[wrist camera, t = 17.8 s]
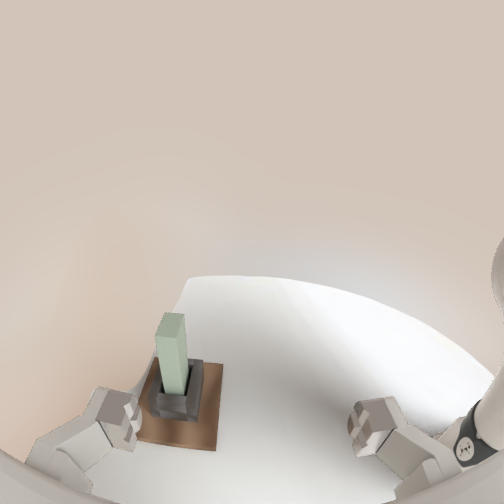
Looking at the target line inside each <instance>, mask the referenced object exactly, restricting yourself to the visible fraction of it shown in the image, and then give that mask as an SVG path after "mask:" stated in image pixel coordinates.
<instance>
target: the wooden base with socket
mask: <svg viewBox="0 0 504 504" xmlns="http://www.w3.org/2000/svg"><path fill="white" fill-rule="evenodd" d="M188 369H189V378H190V383H189V387H188V392H187V396H179V395H172V394H165V390H164V385H163V380H162V375H161V370H160V364H159V358H157V357H155V358H154V361H153V363H152V366H151V369H150V371H149V374H148V377H147V379H146V382H145V385H144V387H143V390H142V393H141V396H140V398H139V401H138V404H137V405H138V406H139V407H140V408H141V411H142V424H141V428H140V430H139V431H137V432H136V433H135V435H136V437H137V440H140V441H145V442H150V443H155V444H161V445H167V446H173V447H180V448H188V449H197V450H207V451H216V444H217V431H218V419H219V407H220V395H221V384H222V373H223V364H217V363H204V362H203V360H197V359H188Z"/></svg>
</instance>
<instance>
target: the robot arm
mask: <svg viewBox="0 0 504 504" xmlns="http://www.w3.org/2000/svg"><path fill="white" fill-rule="evenodd" d="M491 278H492V289H493V293H494V297H495V300H496V301H497V304H498V306H499V308H500V311H501V314H502V318H503V322H504V238H503V240H502V241H501V243H500V244H499V246H498V248H497V251H496V253H495V256H494V260H493V265H492V274H491ZM137 403H138V399H137V396H136V395H133V394H129V393H124V392H120V391H116V390H112V389H108V388H104V387H100V386H99V387H98V388H97V389H96V390H95V392H94V394H93V396H92V398H91V400H90V402H89V404H88V406H87V408H86V410H85V412H84V414H83V416H77V417H76V418H74V419H72V420H71V421H69V422H67V423H65V424H64V425H62V426H60V427H58V428H57V429H55V430H53V431H51V432H49V433H48V434H46V435H44V436H42V437H40V438H39V439H37V440H36V442H35V444H34V446H33V447H32V450H31V452H30V454H29V456H28V457H27V459H26V461H25V464H24V463H22V462H20V461H19V460H17V459H15V458H14V457H12V456H10V455H9V454H7V453H6V452H4V451H2V450H1V449H0V504H119V503H116V502H112V501H109V500H106V499H103V498H100V497H97V496H94V495H92V494H90V492H91V489H92V486H93V484H92V482H91V481H90V480H89V479H88V478H87V476H86V475H85V474H84V472H85V471H87V470H88V469H89V468H90V467H91V466H93V465H94V464H95V463H96V462H97V461H99V460H100V459H101V458H102V457H103V456H105V455H106V454H107V453H108V452H109V451H111V450H112V449H113V447H114V448H118V449H122V450H127V451H131V452H133V451H134V448H135V444H136V441H137V437H136V435H135V433H136V432H137V431H139V430H140V428H141V424H142V411H141V408H140V407H139V406H138V405H137ZM354 409H355V412H353V413H352V414H350V417H349V419H348V432H349V436H351V437H352V438H353V439H355V440H354V442H353V444H352V445H353V449H354V452H355V455H356V457H361V456H367V455H372V454H375V455H376V456H377V457H378V458H379V459H380V460H381V461H382V462H384V463H385V464H386V465H387V466H388V467H389V468H390V469H391V470H392V471H394V472H395V473H396V474H397V475H398V476H399V477H400V478H401V479H403V480H404V481H402V482H401V483H400V484H399V485H398V486H397V487H396V488H395V490H394V491H395V494H396V498H397V499H396V500H393V501H390V502H387V503H383V504H504V355H503V359H502V362H501V365H500V367H499V370H498V372H497V374H496V376H495V378H494V380H493V381H492V383H491V385H490V387H489V388H488V390H487V392H486V393H485V395H484V396H483V398H482V399H481V400H479V401H478V402H477V403H476V404H475V405H474V406H473V407H472V408H471V410H470V411H469V412H468V414H467V415H466V416H465V417H462V418H461V417H459V418H458V419H457V420H456V421H455V422H454V423H453V424H452V425H451V426H450V427H449V428H448V429H447V431H446V432H445V433H441V434H437V435H435V436H434V437H433V438H431V437H430V436H428V435H427V434H425V433H423V432H422V431H420V430H419V429H417V428H416V427H414V426H412V425H408V424H407V422H406V420H405V418H404V415H403V413H402V411H401V410H400V408H399V406H398V404H397V402H396V400H395V398H394V397H393V396H392V397H386V398H378V399H372V400H365V401H358V402H357V403H356V404H355V406H354Z"/></svg>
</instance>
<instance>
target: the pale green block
mask: <svg viewBox="0 0 504 504" xmlns="http://www.w3.org/2000/svg"><path fill="white" fill-rule="evenodd" d="M155 340H156V346H157V352H158V358H159V364H160V370H161V375H162V380H163V385H164V390H165V394H172V395H179V396H187V392H188V387H189V383H190V378H189V369H188V358H187V347H186V334H185V320H184V314H176V313H165V314H164V316H163V318H162V320H161V323H160V325H159V327H158V330H157V332H156V335H155Z"/></svg>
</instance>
